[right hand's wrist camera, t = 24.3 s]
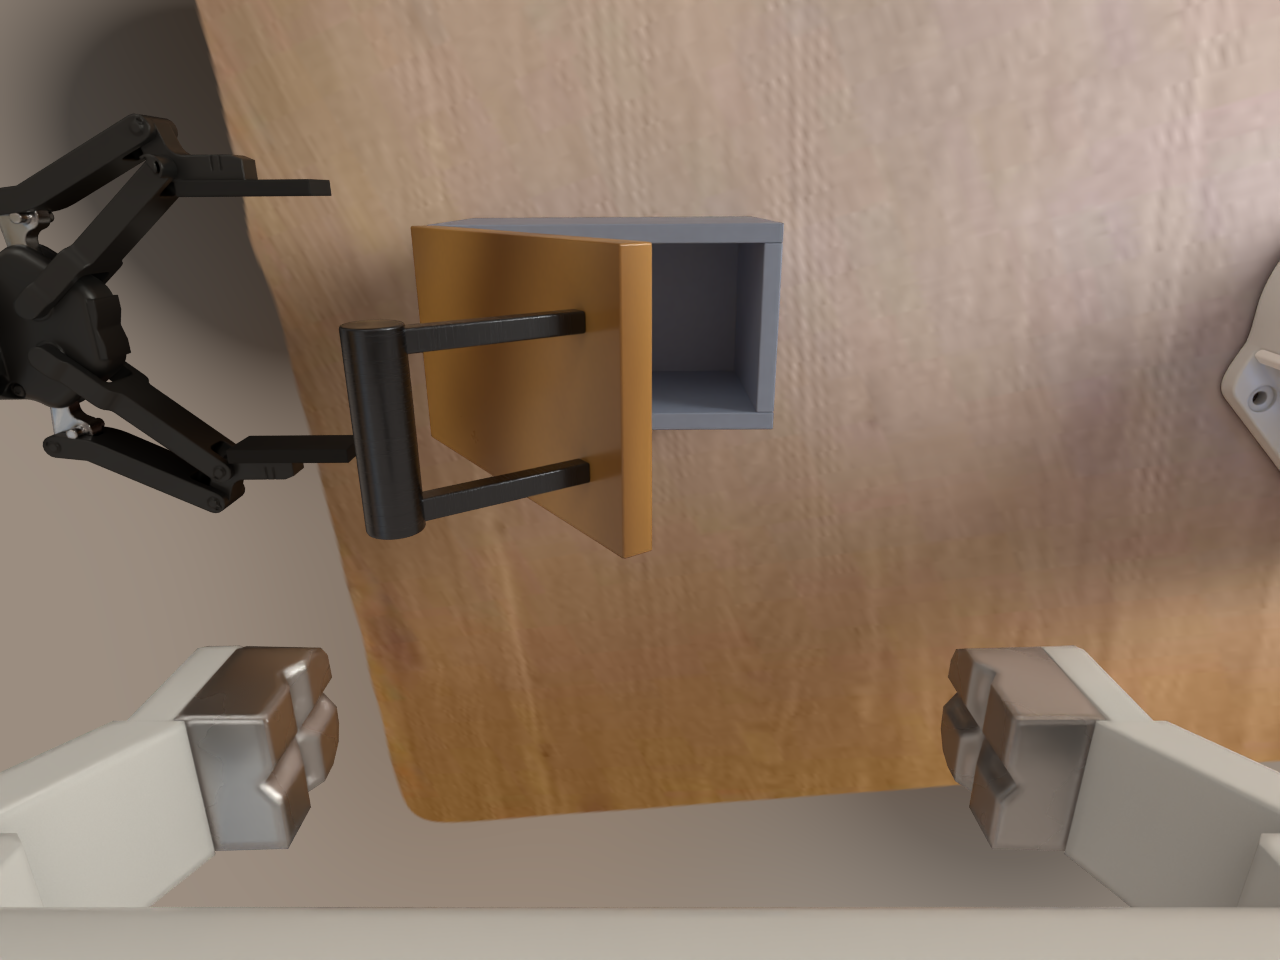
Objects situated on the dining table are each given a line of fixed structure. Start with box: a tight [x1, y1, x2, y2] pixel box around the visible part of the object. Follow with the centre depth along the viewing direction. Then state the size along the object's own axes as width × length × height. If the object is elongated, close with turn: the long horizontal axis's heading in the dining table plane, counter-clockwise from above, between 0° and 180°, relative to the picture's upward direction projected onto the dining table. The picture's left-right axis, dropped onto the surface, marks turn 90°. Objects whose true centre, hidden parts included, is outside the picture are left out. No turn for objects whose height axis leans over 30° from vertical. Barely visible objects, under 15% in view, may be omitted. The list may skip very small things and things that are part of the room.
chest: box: [427, 217, 784, 430], centre depth 42 cm, size 16×10×11 cm, turn 90°
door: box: [339, 225, 652, 559], centre depth 28 cm, size 17×10×8 cm
